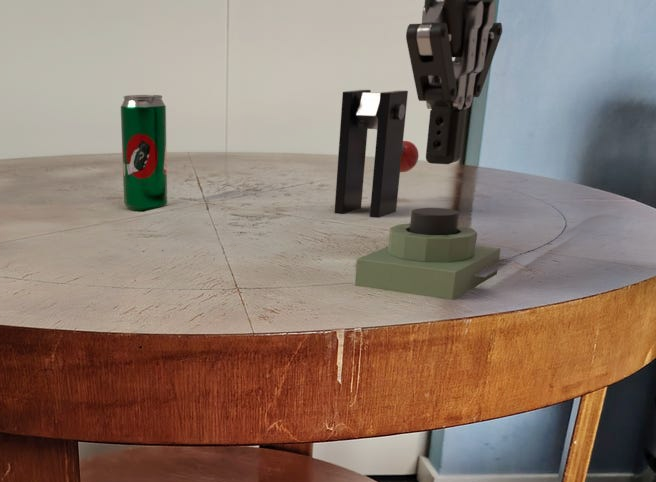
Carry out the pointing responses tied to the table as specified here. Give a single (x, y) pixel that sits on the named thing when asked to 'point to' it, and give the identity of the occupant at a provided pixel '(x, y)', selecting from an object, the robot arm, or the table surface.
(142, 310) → the table surface
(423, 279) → the control block
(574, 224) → the table surface
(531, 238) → the table surface
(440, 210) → the button
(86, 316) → the table surface
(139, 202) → the soda can
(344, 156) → the bracket
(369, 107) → the lever
